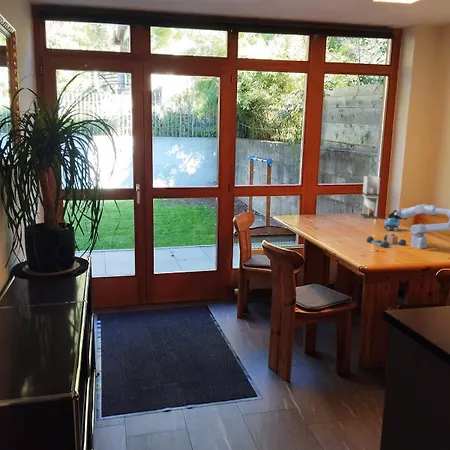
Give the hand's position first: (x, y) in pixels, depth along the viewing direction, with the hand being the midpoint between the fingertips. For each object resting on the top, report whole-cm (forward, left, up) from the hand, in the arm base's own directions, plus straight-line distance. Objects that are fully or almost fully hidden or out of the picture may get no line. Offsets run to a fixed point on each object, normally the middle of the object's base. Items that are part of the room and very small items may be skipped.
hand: (392, 217), depth 332 cm
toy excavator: (+25, -29, -17) cm, 42 cm away
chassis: (-7, +10, -17) cm, 21 cm away
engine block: (-7, +5, -16) cm, 18 cm away
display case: (+71, -44, -17) cm, 85 cm away
